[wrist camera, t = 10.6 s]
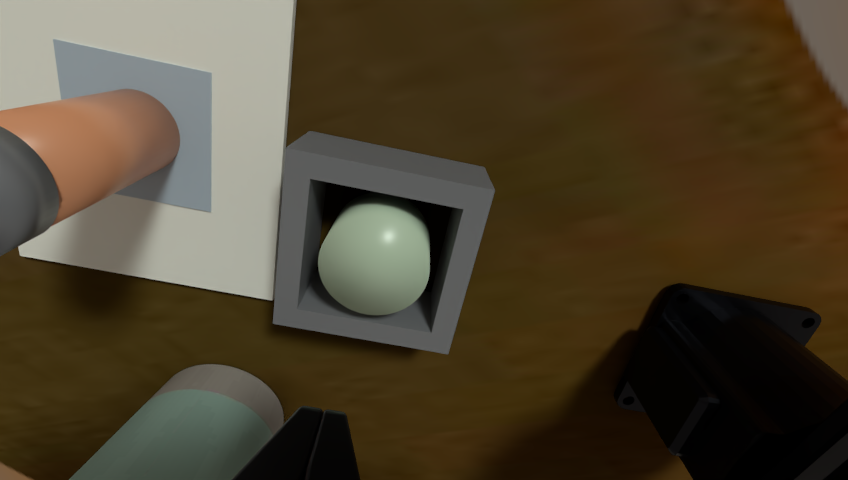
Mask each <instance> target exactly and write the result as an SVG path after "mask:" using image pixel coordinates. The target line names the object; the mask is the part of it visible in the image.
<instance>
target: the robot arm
mask: <svg viewBox="0 0 848 480" xmlns="http://www.w3.org/2000/svg"><path fill="white" fill-rule="evenodd" d="M681 294H683V296H682V297H681V298H679V299H676V298H677V297H678V296H679V295H681ZM820 323H821V317H820V315H819V314H817V313H816V312H814V311H813V310H811V309H809V308H807V307H802V306H796V305H791V304H786V303H781V302H776V301H771V300H766V299H760V298H755V297H750V296H745V295H740V294H735V293H729V292H724V291H719V290H714V289H709V288H704V287H699V286H693V285H688V284H683V283H678V284H675V285H672V286H671V287H669V288H668V290H667V291H666V293H665V295H664V297H663V298H662V300H661V302H660V304H659V306H658V308H657V310H656V312H655V314H654V316H653V318H652V320H651V322H650V324H649V326H648V328H647V330H646V331H645V333H644V335H643V337H642V338H641V340H640V342H639V344H638V346H637V348H636V350H635V352H634V354H633V356H632V358H631V360H630V362H629V364H628V366H627V368H626V370H625V372H624V375H623V377H622V379H621V381H620V383H619V385H618V387H617V389H616V391H615V393H614V398H615V400H616V402H617V404H618V406H619V407H621V408H623V409H628V410H634V411H640V412H646V413H647V415H648V416H649V418H650V420H651V421H652V423H653V425H654V426H655V428H656V430H657V431H658V433H659V435H660V437H661V438H662V440H663V442H664V443H665V445H666V447H667V448H668V450H669V452H670V453H671V454H672V455H677V456H679V457H680V459H681V460H682V462H683V464H684V465H685V467H686V469H687V470H688V472H689V473H690V475H691V477H692V478H693V480H848V381H847V380H846V379H845V378H843V377H842V376H841V375H840V374H838V373H837V372H836V371H835V370H833V369H832V368H831V367H830V366H828V365H827V364H826V363H825V362H823V361H822V360H821V359H819V358H818V357H817V356H816V355H814V354H813V353H812V352H811V351H809V350H808V349H807V348H806V347H804V346H805V345H806V343H807V342H808V341H809V339H810V338H811V336H812V335H813V333H814V332H815V331H816V329H817V328H818V326H819V325H820ZM626 397H628V398H626ZM231 480H360V476H359V472H358V467H357V462H356V457H355V453H354V448H353V443H352V439H351V434H350V429H349V424H348V420H347V416H346V414H345V413H344V412H340V411H333V410H325V411H324V412H323V411H322V410H321V409H320V408H314V407H308V406H302V407H300V408H299V409H297V410H296V412H295V413H294V414H293V415H292V416H291V417H290V418H289V419H288V420H287V421H286V422H285V423H284V424H283V425H282V426H281V427H280V428H279V430H278V431H277V432H276V433H275V434H274V435H273V436H272V437H271V438H270V439H269V440H268V441H267V442H266V443H265V444H264V445H263V447H262V448H261V449H260V450H259V451H258V452H257V453H256V454H255V455H254V456H253V457H252V458H251V459H250V460H249V461H248V462H247V464H246V465H245V466H244V467H243V468H242V469H241V470H240V471H239V472H238V473H237V474H236V475H235V476H234V477H233V478H232V479H231Z"/></svg>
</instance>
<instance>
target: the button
mask: <svg viewBox="0 0 848 480" xmlns="http://www.w3.org/2000/svg"><path fill="white" fill-rule="evenodd" d="M318 269H319V274H320V278H321V280H322V283H323V285H324V286H325V288H326V290H327V291H328V292H329V294H330V295H331V296H332V297H333V298H334V299H335V300H336V301H338V302H339V303H340V304H342V305H343V306H345V307H346V308H348V309H351V310H353V311H356V312H358V313H362V314H367V315H387V314H392V313H395V312H398V311H401V310H403V309H405V308H407V307H408V306H410V305H411V304H412V303H414V302H415V301H416V300H417V299H418V298H419V297H420V296H421V294H422V293H423V291H424V289H425V287H426V285H427V283H428V279H429V274H430V233H429V228H428V224H427V222H426V220H425V218H424V216H423V214H422V213H421V212H420V210H419V209H418V208H417V207H416V206H415V205H414V204H413V203H411V202H410V201H409V200H407V199H405V198H403V197H399V196H394V195H389V194H384V193H379V192H371V193H367V194H363V195H361V196H358V197H356V198H354V199H353V200H351V201H350V202H349V203H347V204H346V205H345V206H344V207H343V209H342V210H341V211H340V213H339V214H338V216H337V218H336V220H335V222H334V224H333V226H332V227H331V229H330V231H329V233H328V235H327V237H326V238H325V240H324V242H323V244H322V246H321V249H320V252H319V257H318Z"/></svg>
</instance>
